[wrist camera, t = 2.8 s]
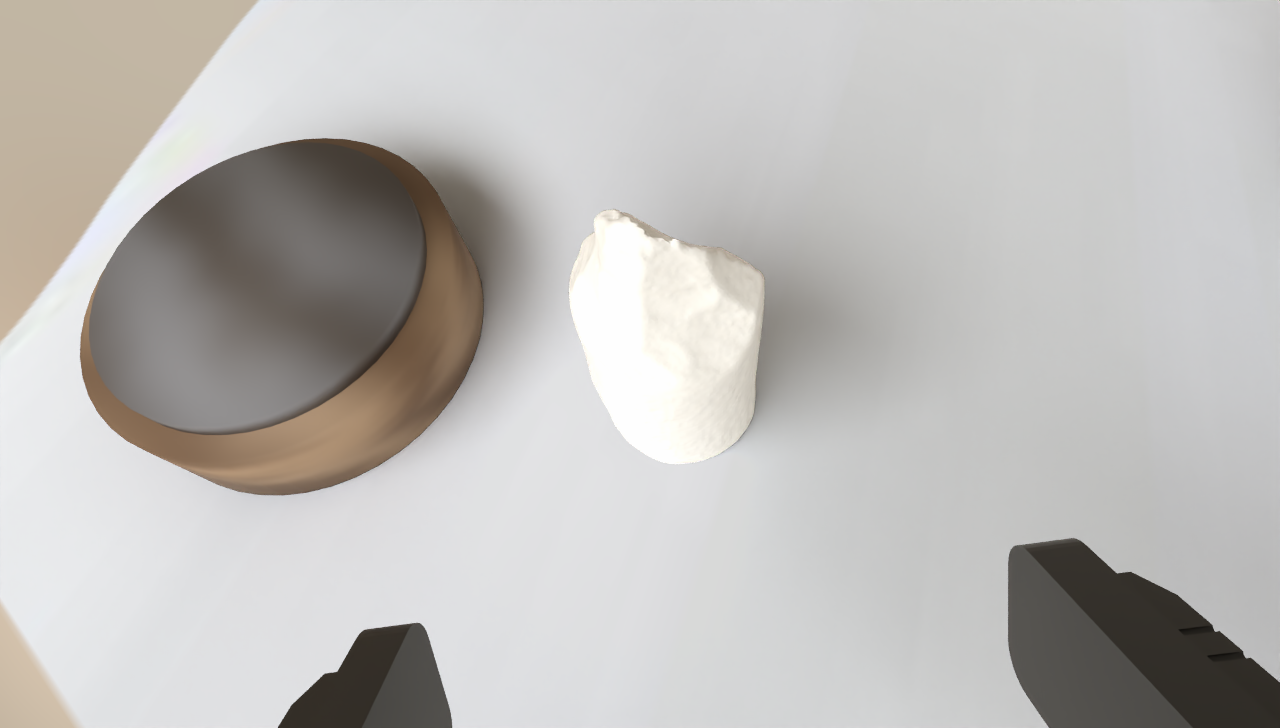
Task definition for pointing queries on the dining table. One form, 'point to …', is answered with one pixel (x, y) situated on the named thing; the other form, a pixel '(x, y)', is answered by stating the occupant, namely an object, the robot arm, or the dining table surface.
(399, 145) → the dining table surface
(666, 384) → the white tall rounded piece
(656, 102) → the dining table surface
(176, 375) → the podium
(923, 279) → the dining table surface
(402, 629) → the robot arm
